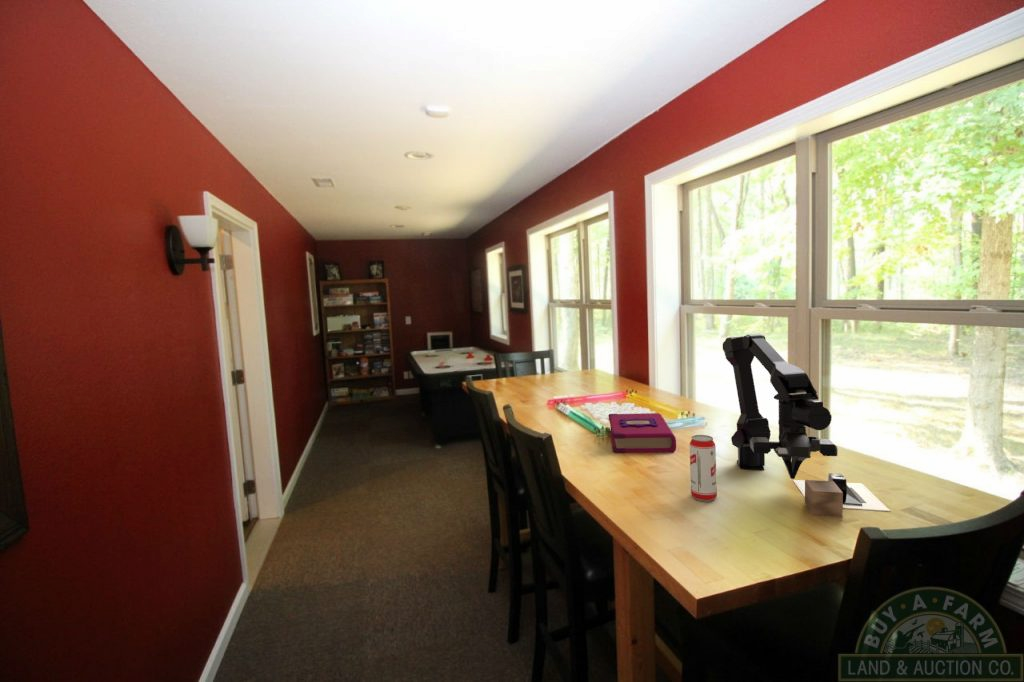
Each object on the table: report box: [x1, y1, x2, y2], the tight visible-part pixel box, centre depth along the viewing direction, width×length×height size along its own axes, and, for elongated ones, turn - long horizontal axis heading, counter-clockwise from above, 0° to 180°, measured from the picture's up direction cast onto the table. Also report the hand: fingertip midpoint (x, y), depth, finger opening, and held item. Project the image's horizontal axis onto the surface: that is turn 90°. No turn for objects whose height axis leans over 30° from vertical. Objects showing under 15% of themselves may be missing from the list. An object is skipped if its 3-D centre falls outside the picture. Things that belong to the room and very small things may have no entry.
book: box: [608, 412, 677, 454], centre depth 171 cm, size 21×28×8 cm
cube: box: [804, 479, 844, 518], centre depth 110 cm, size 6×6×6 cm
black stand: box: [827, 472, 862, 505], centre depth 117 cm, size 12×7×5 cm, turn 159°
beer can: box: [689, 434, 718, 503], centre depth 120 cm, size 6×6×16 cm
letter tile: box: [792, 479, 891, 512], centre depth 118 cm, size 16×16×1 cm
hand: (792, 478), depth 120 cm, fingers closed
